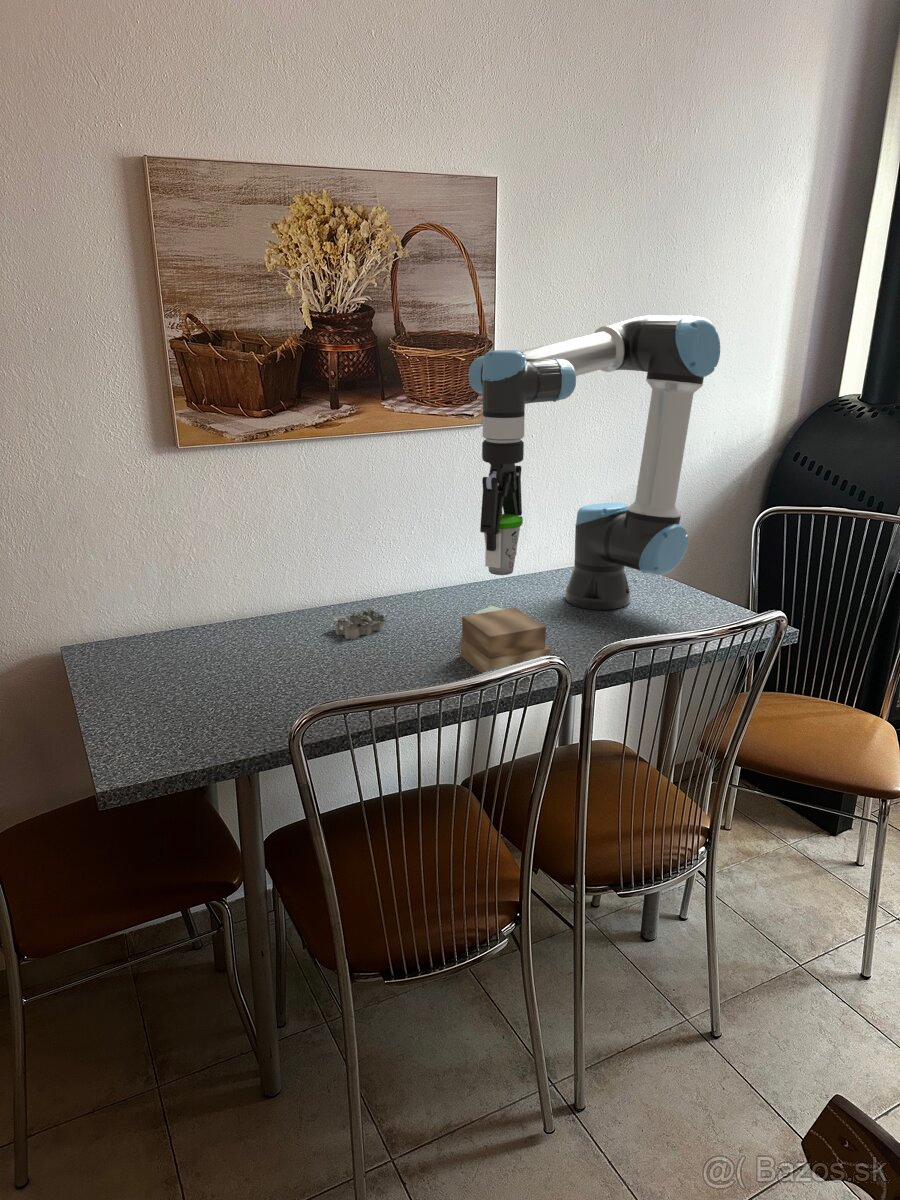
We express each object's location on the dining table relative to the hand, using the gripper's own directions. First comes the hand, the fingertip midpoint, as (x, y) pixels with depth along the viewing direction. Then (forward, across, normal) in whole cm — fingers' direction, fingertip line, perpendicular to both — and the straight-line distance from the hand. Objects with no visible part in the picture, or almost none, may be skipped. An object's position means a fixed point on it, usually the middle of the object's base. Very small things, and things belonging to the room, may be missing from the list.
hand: (501, 560), depth 163 cm
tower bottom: (+22, -1, +1) cm, 22 cm away
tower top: (+17, -1, 0) cm, 17 cm away
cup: (+2, 0, 0) cm, 2 cm away
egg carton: (+22, -4, -34) cm, 41 cm away
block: (+21, -12, -6) cm, 25 cm away
